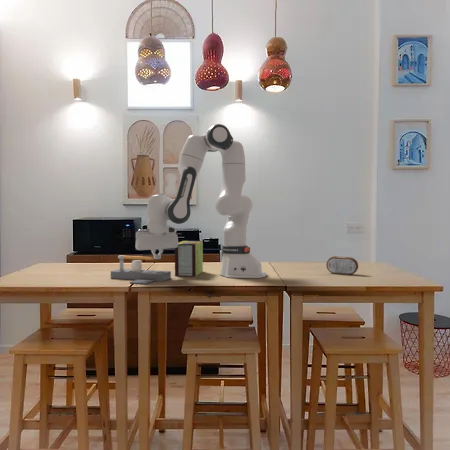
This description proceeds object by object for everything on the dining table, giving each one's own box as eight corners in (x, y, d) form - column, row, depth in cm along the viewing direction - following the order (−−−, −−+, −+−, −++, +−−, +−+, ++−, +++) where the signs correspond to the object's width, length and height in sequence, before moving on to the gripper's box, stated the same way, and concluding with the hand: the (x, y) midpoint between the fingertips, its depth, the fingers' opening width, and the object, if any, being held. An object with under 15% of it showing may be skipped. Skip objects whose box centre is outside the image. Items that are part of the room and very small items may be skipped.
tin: (358, 274, 210) (358, 257, 210) (357, 275, 207) (357, 258, 207) (327, 272, 216) (327, 255, 216) (325, 273, 213) (325, 256, 213)
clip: (153, 259, 198) (153, 256, 198) (150, 260, 196) (150, 257, 196) (120, 257, 204) (120, 255, 204) (116, 258, 201) (116, 256, 201)
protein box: (203, 271, 219) (202, 241, 218) (195, 276, 204) (195, 243, 203) (182, 271, 221) (182, 240, 220) (174, 276, 206) (174, 243, 205)
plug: (143, 277, 201) (143, 260, 201) (138, 279, 197) (138, 261, 197) (135, 277, 203) (134, 260, 202) (130, 278, 199) (130, 261, 198)
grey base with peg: (170, 278, 200) (170, 259, 199) (161, 281, 191) (161, 262, 191) (121, 275, 208) (121, 257, 207) (110, 278, 199) (110, 259, 199)
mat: (155, 281, 191) (155, 280, 191) (146, 284, 184) (146, 283, 184) (139, 280, 194) (139, 278, 194) (129, 283, 186) (129, 282, 186)
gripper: (138, 230, 192) (138, 261, 193) (179, 228, 203) (179, 258, 204) (133, 229, 197) (133, 259, 198) (173, 228, 208) (173, 256, 209)
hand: (157, 258), depth 201 cm, fingers closed
